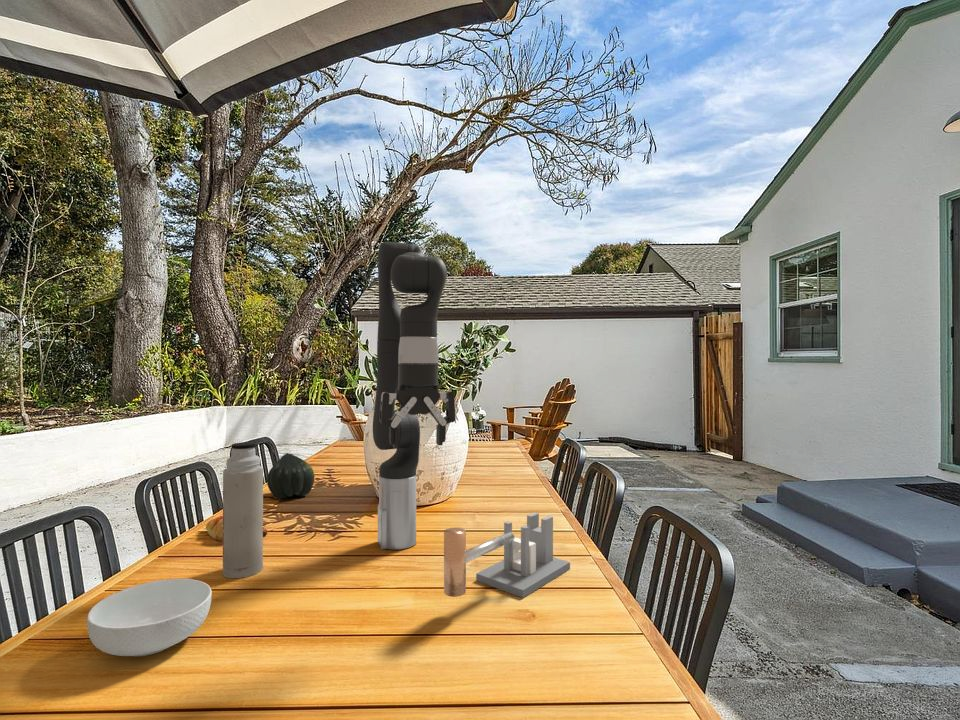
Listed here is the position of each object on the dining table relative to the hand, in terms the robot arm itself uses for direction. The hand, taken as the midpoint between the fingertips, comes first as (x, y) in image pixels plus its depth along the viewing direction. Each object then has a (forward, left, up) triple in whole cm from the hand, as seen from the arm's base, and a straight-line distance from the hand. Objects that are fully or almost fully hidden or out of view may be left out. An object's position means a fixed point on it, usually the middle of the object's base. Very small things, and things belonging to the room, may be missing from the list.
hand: (417, 446), depth 96 cm
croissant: (-37, +52, -30) cm, 70 cm away
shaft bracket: (+25, +4, -30) cm, 39 cm away
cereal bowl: (-44, +1, -30) cm, 53 cm away
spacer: (+24, +4, -28) cm, 37 cm away
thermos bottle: (-33, +27, -30) cm, 52 cm away
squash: (-24, +89, -30) cm, 97 cm away
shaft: (+12, -3, -26) cm, 29 cm away
